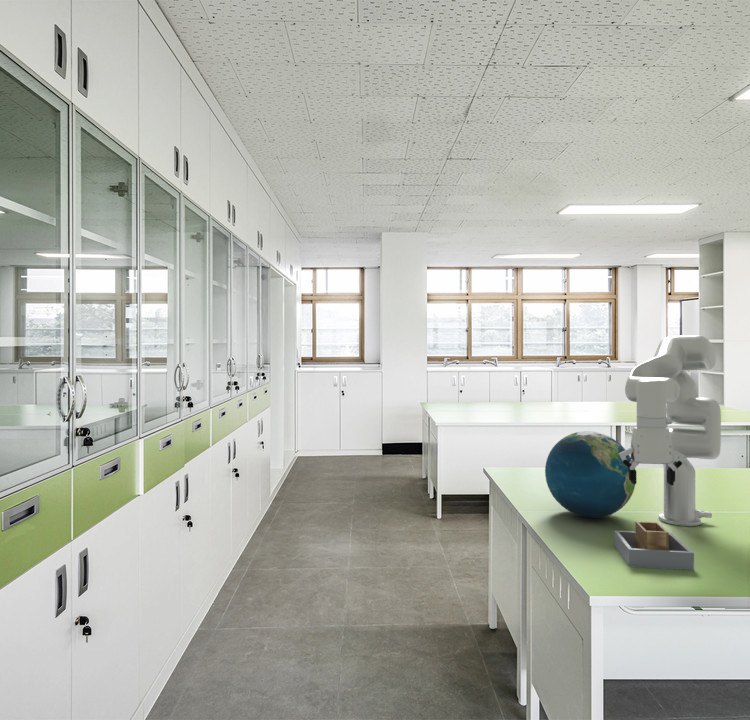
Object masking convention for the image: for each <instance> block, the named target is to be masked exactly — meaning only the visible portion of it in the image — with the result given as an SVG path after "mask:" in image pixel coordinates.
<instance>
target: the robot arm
mask: <svg viewBox="0 0 750 720" xmlns="http://www.w3.org/2000/svg"><path fill="white" fill-rule="evenodd" d="M716 363H717V353H716V350H715V347H714V345H713V344H712V343H711V341H710V340H709V339H708V338H707V337H706V336H703V335H700V334H699V335H695V334H694V335H691V334H690V335H671V336H667V337H664V338H663V339H662V340H661V341H660V342H659V343H658V347H657V348H656V352H655V353H654V355H653V357H652V358H650V359H648V360H646V361H644V362H642V363H640V364H638V365H636V366H634V367H633V368H632V369H631V371H630V372H629V374H628V377H627V380H626V383H625V387H624V391H625V393H624V394H625V396H626V398H627V399H628V400H629V401H631V402H634V403H636V426H634V427H633V428H632V433H631V441H630V447H629V448H627V449H625V450H624V451H622V452H620V453H619V454H618V455H619V457H620V459H621V460H622V462H623V463H624V464H625V465H626V466H627V467H628V468H629V480H631V482H632V483H633V484H635V485H637V470H636V467H638V466H639V465H640V464H641V465H642V464H643V465H663V466H662V467H663V512H661V513H659V514H658V519H659V520H660V521H661V522H662V523H663V522H664V523H666V524H670V525H674V526H679V527H680V526H682V527H696V526H699V525H702V518H706V519H711V518H712V517H713V514H712V512H711V511H705V510H699V509H697V508H696V501H697V500H696V498H697V497H696V477H697V476H696V469H695V466H693V464H692V463H691V462H690V460H688V458H689V459H701V460H716V459H718V457H719V456H720V453H721V446H722V445H721V444H722V441H721V440H722V434H721V433H722V410H721V406H720V403H719V402H718V400H716V399H714V398H712V397H696V382H695V380H694V379H693V378H692V376H691V375H690V374H689V373H688V372H687V371H710V370H712V369H713V368H714V367H715V365H716ZM671 424H676V425H682V426H696V427H697V426H699V427H703V428H704V430H703V429H691V428H678V427H677V428H676V427H673V428H668V425H671ZM627 455H630V457H631V459H632V460H631V461H630V463H629V462H628V461H627V459H626V456H627Z"/></svg>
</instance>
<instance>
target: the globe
mask: <svg viewBox="0 0 750 720" xmlns="http://www.w3.org/2000/svg"><path fill="white" fill-rule="evenodd" d="M624 450H626V449H625V447H624V446H623V445H622V444H621V443H620V442H618V441H617V440H616V439H614V438H613V437H611V436H609V435H607V434H604V433H601V432H598V431H591V430H586V431H585V430H584V431H583V430H582V431H577V432H574V433H573V432H572V433H571V434H568V435H566V436H564V437H563V438H561V439H560V440H558V442H556V443H555V445H553V447H552V448H551V450H550V451H549V453H548V455H547V458H546V462H545V466H544V467H545V468H544V476H545V482H546V485H547V487H548V490H549V492H550V494H551V495H552V497H553V498H554V500H555V501H556V502H557V503H558V504H559V505H560V506H561V507H562V508H564V509H565V510H567V511H569V512H570V513H572V514H574V515H576V516H580V517H583V518H589V519H591V518H592V519H597V518H605V517H608V516H610V515H614V514H615V513H617V512H618V511H620V510H621V509H623V508H624V506H626V504H628V502H629V501H630V500H631V497H632V496H633V494H634V491H635V487H636V484H633V483H632V482H631V480H629V468H628V467H627V466H626V465H625V464H624V463H623V462H622V460H621V459H620V457H619V455H618V454H619V453H620V452H622V451H624ZM626 459H627V461H628V462H629V463H630V461H631V460H632V459H631V456H630V454H629V455H627V456H626Z"/></svg>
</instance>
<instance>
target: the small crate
mask: <svg viewBox="0 0 750 720" xmlns="http://www.w3.org/2000/svg"><path fill="white" fill-rule="evenodd" d="M634 522H635V525H634V526H635V528H634V529H635V530H634V531H635V549H654V550H669V533H670V532H669V531H668V530H667V529H665V528H664V526H662V525H661V524H660V523H659V522H656V521H654V522H653V521H638V520H637V521H634Z"/></svg>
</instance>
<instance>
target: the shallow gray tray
mask: <svg viewBox="0 0 750 720" xmlns="http://www.w3.org/2000/svg"><path fill="white" fill-rule="evenodd" d="M613 546H614V548H615V549H616V550H617V552H618V554H619V555H620V557H622V560H624V562H625V563H626V565H627V566H628V567H630V566H635V567H634V568H646V567H649V569H651V568H652V569H662V568H665V569H666V570H678V569H686V570H685V571H695V552H694V551H692V550H691V549H690V548H689V547H688V546H687V545H686V544H684V542H682V541H681V539H679V538H678V536H676V535H675V534H674V533H670V532H669V550H654V549H635V530H633V531H631V530H613ZM687 569H689V570H687Z"/></svg>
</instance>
